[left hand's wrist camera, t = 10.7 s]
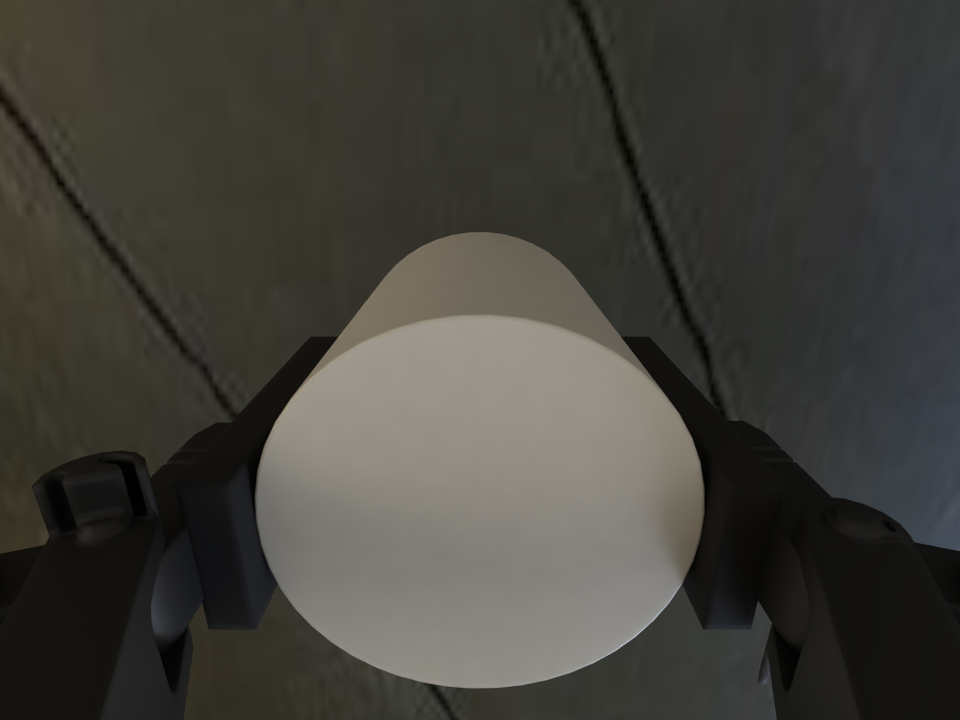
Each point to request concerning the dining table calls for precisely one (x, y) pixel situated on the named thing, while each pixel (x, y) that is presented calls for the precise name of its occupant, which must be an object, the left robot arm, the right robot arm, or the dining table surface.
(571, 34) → the dining table surface
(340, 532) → the can
